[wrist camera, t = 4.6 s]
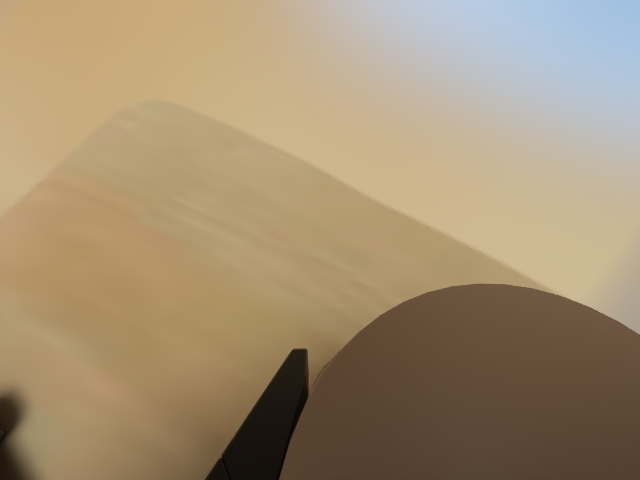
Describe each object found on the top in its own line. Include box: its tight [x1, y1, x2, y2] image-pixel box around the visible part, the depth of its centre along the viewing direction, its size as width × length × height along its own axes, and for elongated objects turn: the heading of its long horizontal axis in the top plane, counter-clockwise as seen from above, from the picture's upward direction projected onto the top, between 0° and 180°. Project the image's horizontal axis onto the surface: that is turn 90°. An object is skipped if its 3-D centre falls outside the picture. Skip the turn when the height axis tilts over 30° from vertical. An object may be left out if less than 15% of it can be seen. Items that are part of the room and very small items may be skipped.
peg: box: [279, 284, 640, 480], centre depth 8 cm, size 4×4×13 cm
